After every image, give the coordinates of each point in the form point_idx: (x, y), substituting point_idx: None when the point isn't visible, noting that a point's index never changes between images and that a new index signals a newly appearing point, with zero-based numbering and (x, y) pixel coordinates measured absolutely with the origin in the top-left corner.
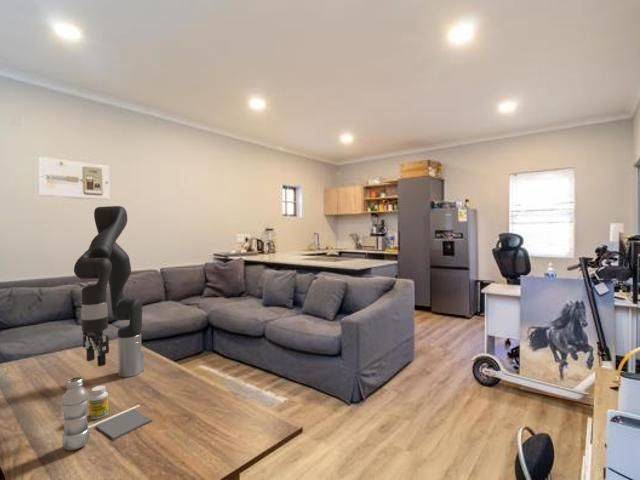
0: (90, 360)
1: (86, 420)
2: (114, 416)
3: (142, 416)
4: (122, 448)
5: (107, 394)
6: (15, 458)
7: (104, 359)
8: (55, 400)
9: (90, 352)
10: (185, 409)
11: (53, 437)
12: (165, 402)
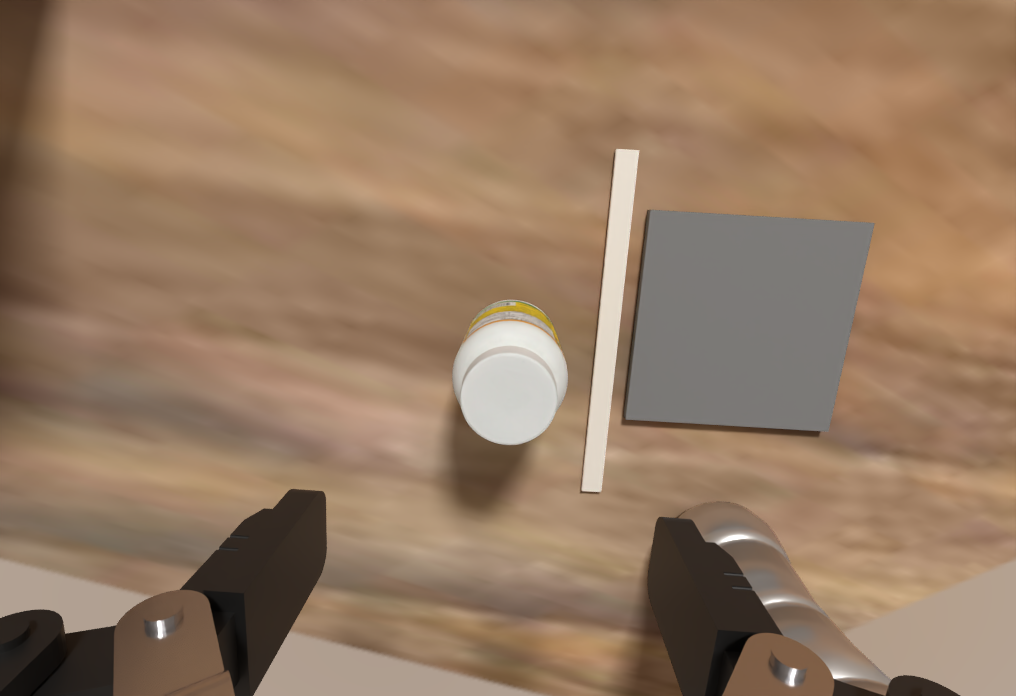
0: (323, 535)
1: (805, 588)
2: (614, 312)
3: (787, 232)
4: (926, 442)
5: (548, 337)
6: (559, 674)
7: (755, 602)
8: (85, 387)
9: (267, 621)
10: (968, 5)
11: (527, 549)
12: (749, 16)
